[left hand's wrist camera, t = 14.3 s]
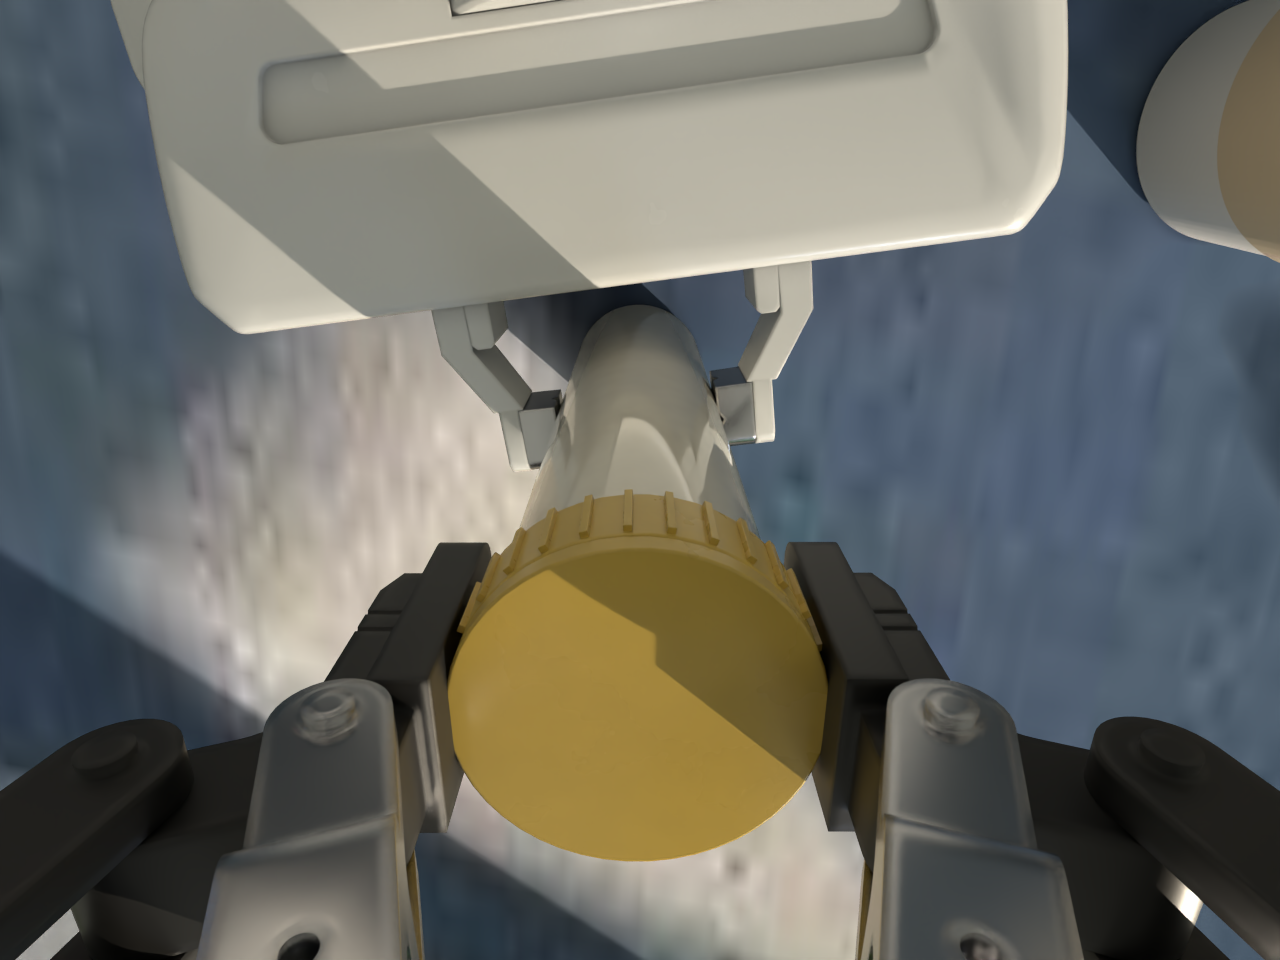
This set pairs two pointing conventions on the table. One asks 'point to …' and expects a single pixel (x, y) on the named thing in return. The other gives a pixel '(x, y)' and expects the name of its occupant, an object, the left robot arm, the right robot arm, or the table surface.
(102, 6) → the table surface
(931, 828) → the left robot arm
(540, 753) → the lid
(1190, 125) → the coffee cup
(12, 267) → the table surface
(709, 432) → the beige long cylinder
